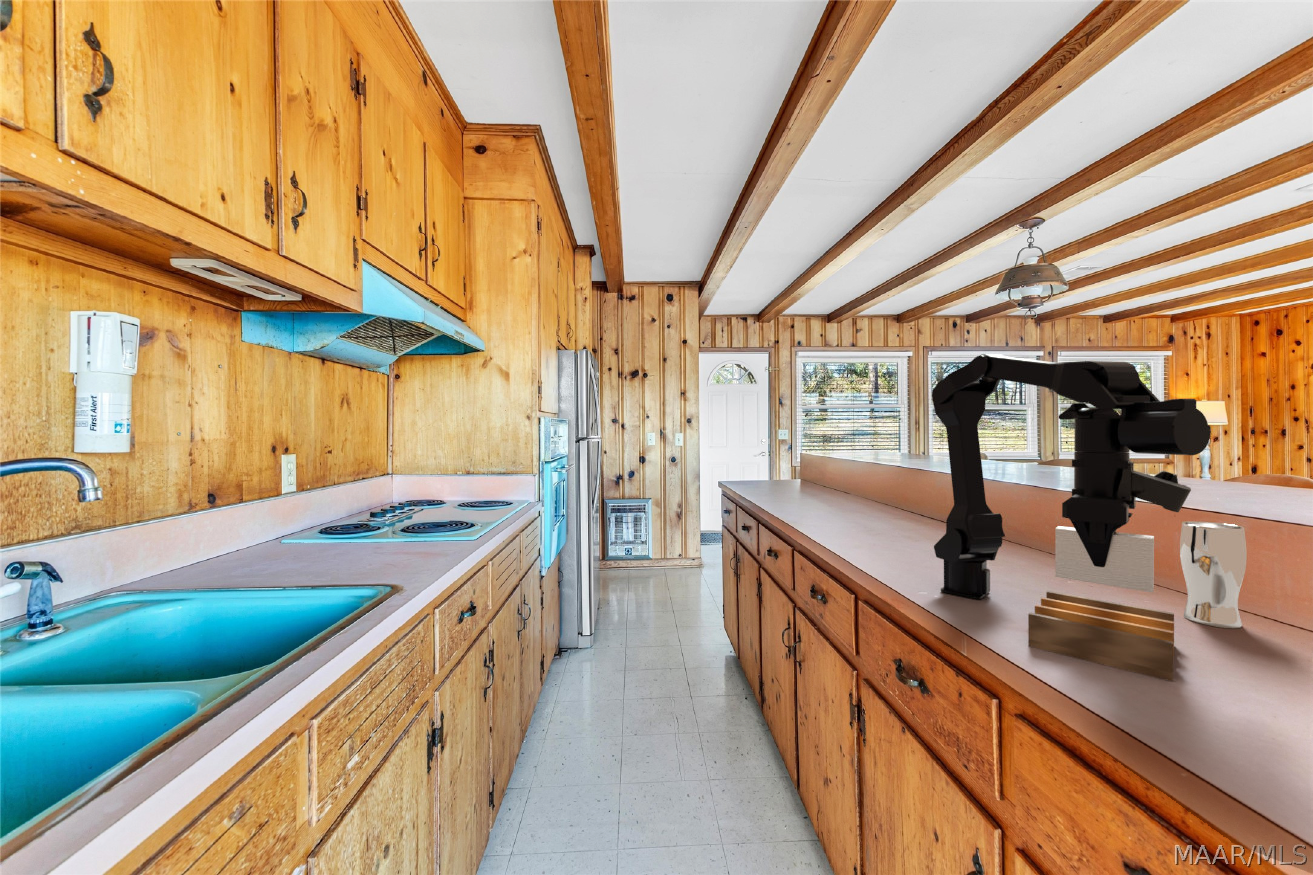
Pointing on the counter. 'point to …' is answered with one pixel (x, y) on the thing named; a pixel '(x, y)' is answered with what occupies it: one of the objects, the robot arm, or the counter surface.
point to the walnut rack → (1105, 633)
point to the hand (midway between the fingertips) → (1100, 564)
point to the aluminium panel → (1123, 566)
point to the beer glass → (1213, 571)
